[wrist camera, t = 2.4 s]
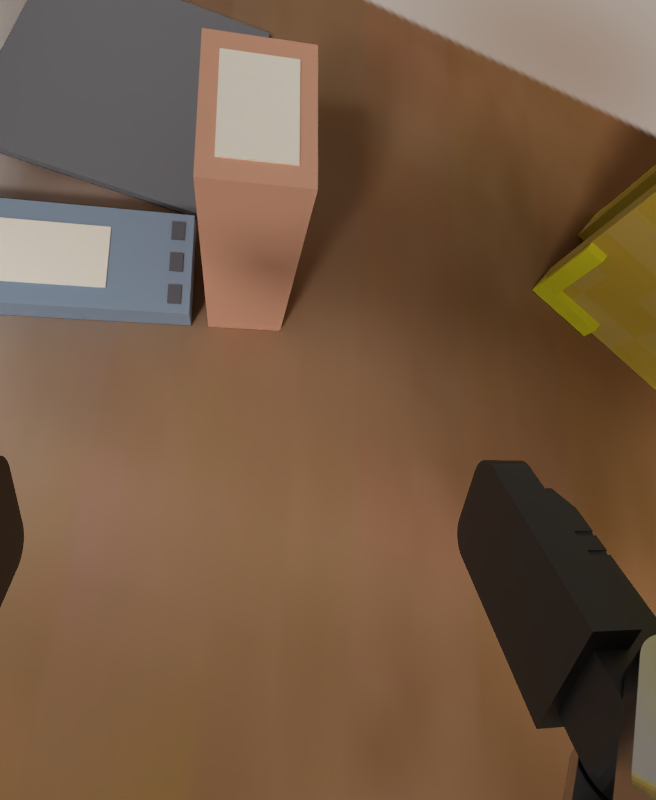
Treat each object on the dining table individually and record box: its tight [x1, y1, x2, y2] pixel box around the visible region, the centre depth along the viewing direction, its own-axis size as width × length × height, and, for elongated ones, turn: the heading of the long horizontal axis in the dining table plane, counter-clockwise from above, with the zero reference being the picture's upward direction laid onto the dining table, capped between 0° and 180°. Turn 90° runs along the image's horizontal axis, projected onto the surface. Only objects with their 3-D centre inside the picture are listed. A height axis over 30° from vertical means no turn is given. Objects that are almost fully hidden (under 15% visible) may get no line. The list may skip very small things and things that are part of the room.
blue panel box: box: [0, 198, 196, 325], centre depth 25 cm, size 12×5×2 cm, turn 90°
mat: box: [0, 0, 270, 218], centre depth 29 cm, size 12×12×1 cm
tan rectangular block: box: [193, 28, 318, 331], centre depth 22 cm, size 4×5×12 cm
